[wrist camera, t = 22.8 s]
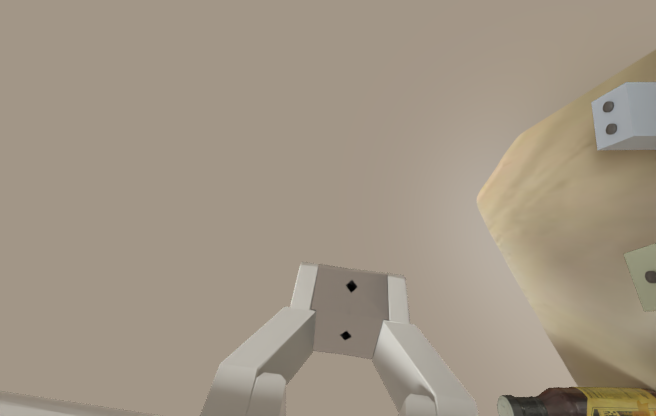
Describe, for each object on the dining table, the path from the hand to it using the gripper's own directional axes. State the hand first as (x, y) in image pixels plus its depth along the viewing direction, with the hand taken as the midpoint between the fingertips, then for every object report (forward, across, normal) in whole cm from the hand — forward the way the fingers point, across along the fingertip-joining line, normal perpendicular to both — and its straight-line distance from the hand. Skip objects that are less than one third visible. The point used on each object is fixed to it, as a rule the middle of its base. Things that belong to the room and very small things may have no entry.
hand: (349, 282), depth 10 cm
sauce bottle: (+17, -43, +36) cm, 58 cm away
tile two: (+28, -37, +2) cm, 47 cm away
